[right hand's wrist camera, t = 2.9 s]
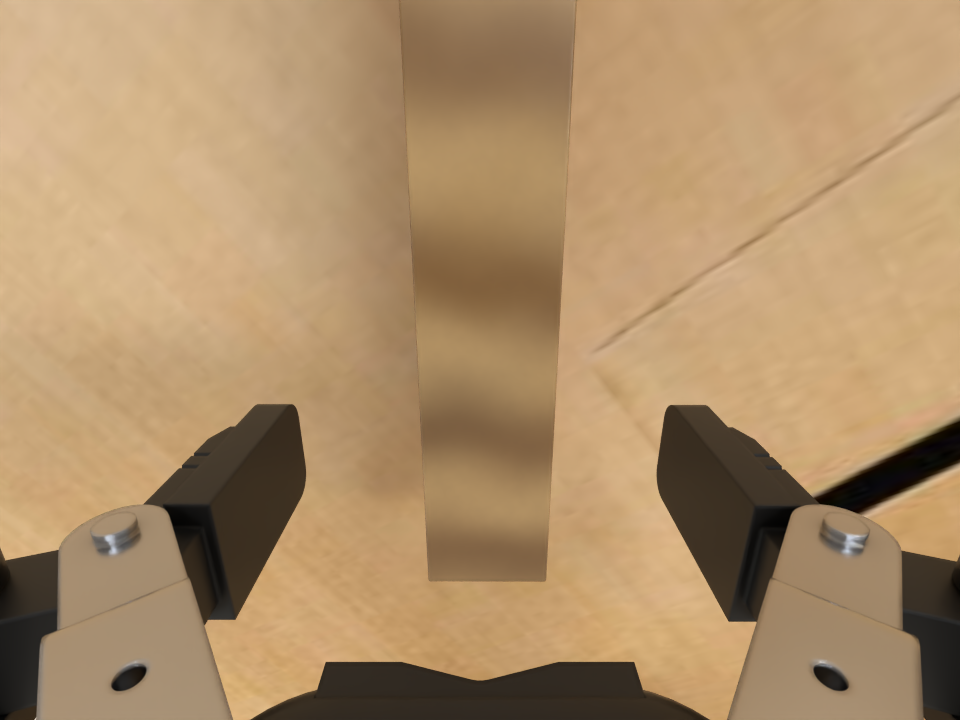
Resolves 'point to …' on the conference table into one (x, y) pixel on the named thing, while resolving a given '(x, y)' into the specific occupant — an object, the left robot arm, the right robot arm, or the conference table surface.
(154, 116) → the conference table surface
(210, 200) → the conference table surface
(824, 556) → the right robot arm
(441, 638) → the conference table surface
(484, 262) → the beam
